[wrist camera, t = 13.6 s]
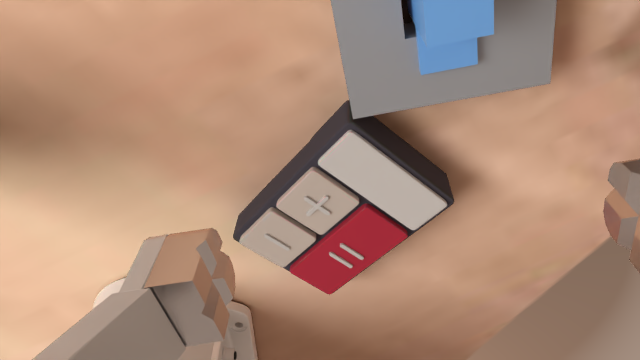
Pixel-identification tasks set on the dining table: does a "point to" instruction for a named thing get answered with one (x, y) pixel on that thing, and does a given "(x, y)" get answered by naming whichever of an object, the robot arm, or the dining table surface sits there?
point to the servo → (449, 31)
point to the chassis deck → (445, 86)
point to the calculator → (343, 202)
